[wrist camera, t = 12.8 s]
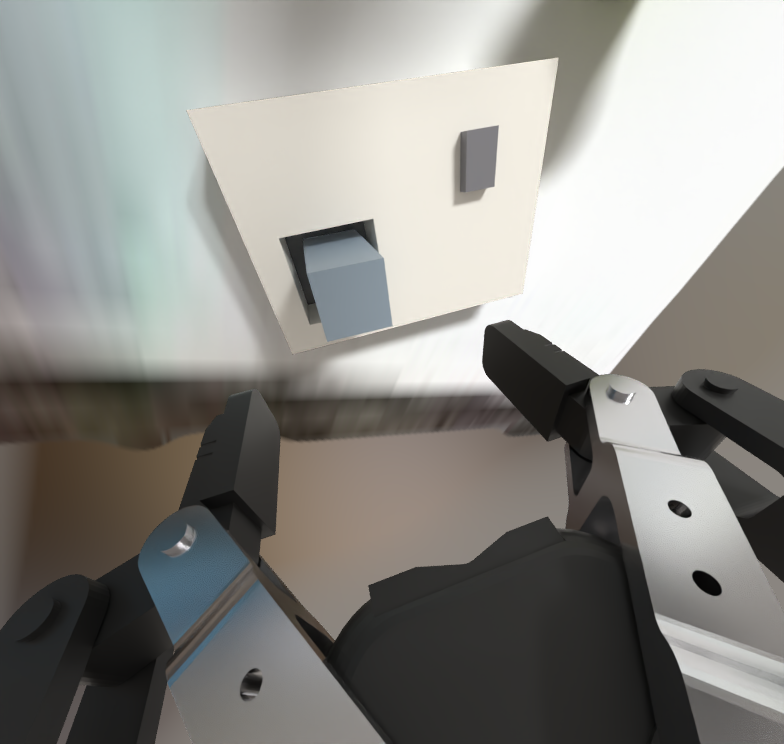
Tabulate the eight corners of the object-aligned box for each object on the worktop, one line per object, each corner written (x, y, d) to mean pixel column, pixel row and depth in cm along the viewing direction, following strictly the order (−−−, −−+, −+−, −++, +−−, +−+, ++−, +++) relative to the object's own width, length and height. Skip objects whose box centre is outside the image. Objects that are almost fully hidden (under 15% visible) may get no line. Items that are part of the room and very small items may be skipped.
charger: (302, 238, 21) (306, 273, 14) (354, 229, 22) (383, 257, 15) (317, 290, 23) (327, 341, 16) (363, 280, 24) (392, 326, 17)
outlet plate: (207, 121, 16) (180, 107, 13) (515, 75, 19) (569, 52, 15) (292, 331, 25) (292, 360, 21) (496, 279, 27) (528, 296, 24)
